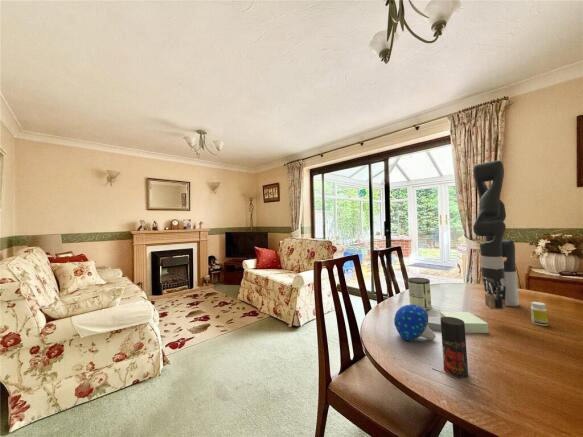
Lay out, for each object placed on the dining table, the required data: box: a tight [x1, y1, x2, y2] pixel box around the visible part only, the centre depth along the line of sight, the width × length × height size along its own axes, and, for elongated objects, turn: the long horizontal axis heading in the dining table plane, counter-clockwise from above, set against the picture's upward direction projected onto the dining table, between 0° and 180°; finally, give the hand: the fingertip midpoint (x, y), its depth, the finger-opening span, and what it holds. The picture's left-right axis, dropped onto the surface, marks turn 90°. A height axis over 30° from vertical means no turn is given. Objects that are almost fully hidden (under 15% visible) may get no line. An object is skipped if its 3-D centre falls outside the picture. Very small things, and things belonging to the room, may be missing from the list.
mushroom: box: [393, 304, 437, 342], centre depth 89 cm, size 14×14×15 cm
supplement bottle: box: [530, 301, 549, 326], centre depth 97 cm, size 5×5×8 cm
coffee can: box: [407, 276, 433, 311], centre depth 122 cm, size 10×10×14 cm
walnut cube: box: [484, 293, 507, 311], centre depth 99 cm, size 5×5×5 cm
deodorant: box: [440, 317, 469, 379], centre depth 69 cm, size 6×6×15 cm
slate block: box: [427, 316, 441, 332], centre depth 98 cm, size 7×7×3 cm
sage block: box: [439, 311, 489, 334], centre depth 98 cm, size 12×12×4 cm
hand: (495, 305), depth 99 cm, fingers closed on walnut cube, 5 cm apart
